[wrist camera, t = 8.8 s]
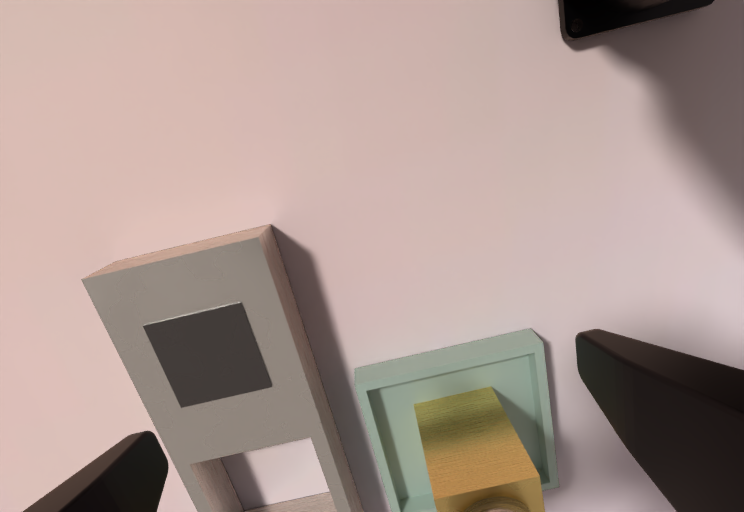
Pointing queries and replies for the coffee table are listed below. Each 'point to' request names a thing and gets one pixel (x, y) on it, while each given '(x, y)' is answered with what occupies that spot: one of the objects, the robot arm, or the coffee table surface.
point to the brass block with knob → (476, 456)
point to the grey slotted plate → (222, 362)
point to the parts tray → (445, 378)
